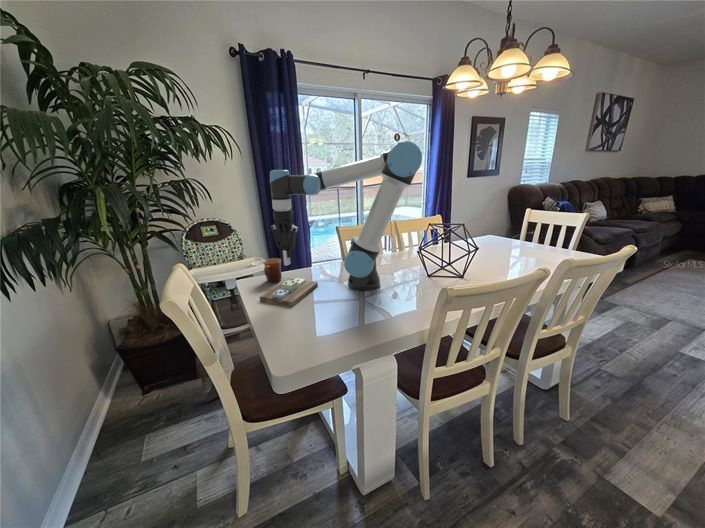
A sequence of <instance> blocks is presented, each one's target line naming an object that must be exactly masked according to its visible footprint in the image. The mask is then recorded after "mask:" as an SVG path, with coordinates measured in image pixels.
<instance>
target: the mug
mask: <svg viewBox="0 0 705 528" xmlns="http://www.w3.org/2000/svg"><path fill="white" fill-rule="evenodd" d="M262 263H263V266H264V268H263V271H264V275H265V277H266V280H267V282H269V283H278V282H280V281H281V280H282V267H281V266H282V259H281V258H278V257H275V258H274V257H273V258H267V259H264V260H263V261H262Z"/></svg>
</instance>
